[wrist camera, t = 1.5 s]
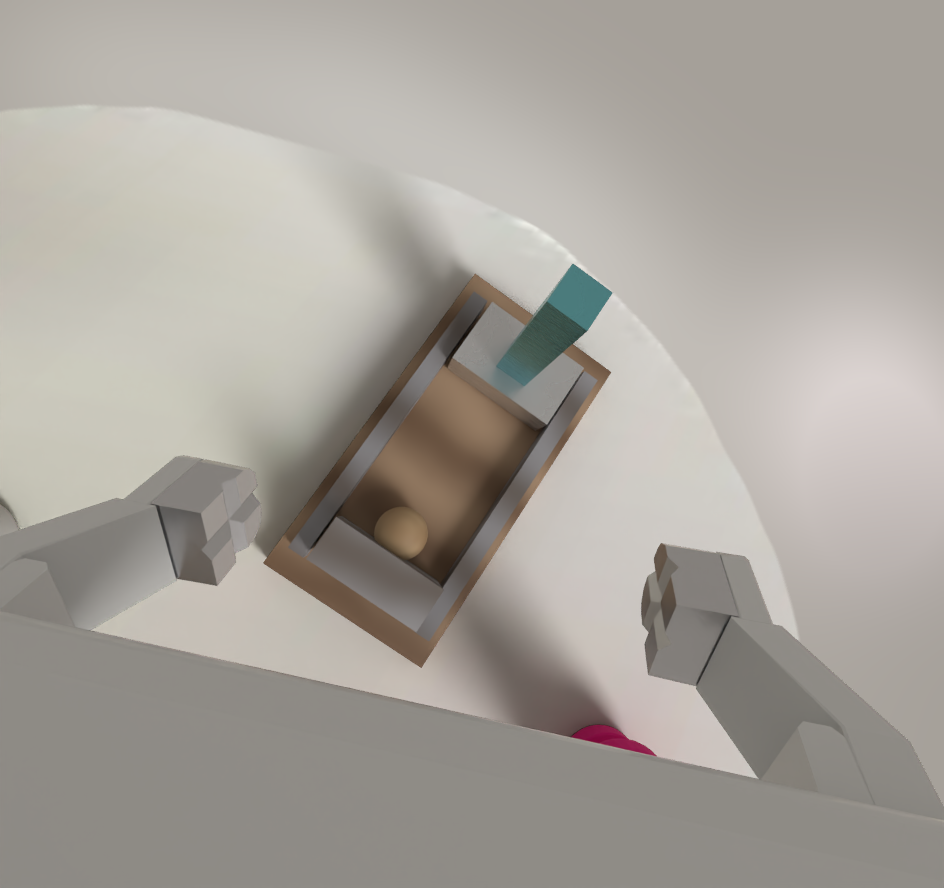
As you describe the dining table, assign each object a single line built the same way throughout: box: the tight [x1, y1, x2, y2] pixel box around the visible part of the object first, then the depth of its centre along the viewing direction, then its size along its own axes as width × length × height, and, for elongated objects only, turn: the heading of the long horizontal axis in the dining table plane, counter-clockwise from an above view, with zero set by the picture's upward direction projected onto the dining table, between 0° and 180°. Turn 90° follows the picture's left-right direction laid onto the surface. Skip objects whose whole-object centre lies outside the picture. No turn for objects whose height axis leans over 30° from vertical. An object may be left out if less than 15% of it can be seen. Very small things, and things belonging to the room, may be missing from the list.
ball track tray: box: [264, 274, 611, 668], centre depth 38 cm, size 26×13×7 cm, turn 146°
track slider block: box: [447, 264, 612, 431], centre depth 34 cm, size 5×8×15 cm, turn 56°
